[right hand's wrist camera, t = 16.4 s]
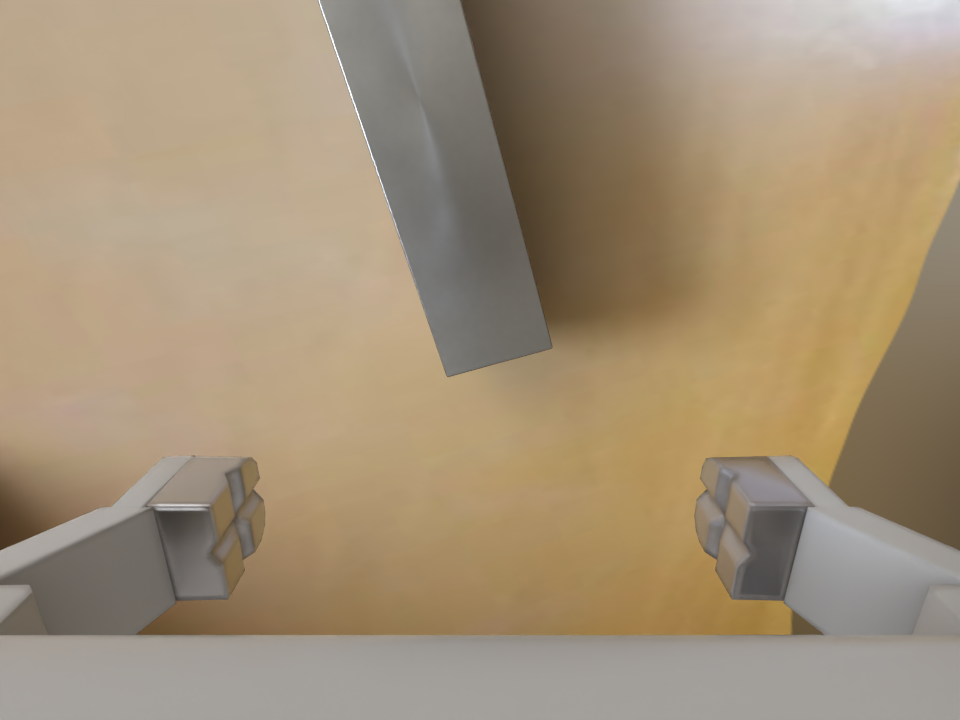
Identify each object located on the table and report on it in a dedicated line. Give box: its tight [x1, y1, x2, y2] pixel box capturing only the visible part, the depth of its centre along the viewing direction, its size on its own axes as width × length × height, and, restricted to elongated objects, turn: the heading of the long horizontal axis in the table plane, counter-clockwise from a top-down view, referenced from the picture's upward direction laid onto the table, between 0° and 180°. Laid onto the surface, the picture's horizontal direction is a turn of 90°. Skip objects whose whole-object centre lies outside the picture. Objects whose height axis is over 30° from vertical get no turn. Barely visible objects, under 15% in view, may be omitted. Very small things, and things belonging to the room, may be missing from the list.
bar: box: [318, 0, 553, 377], centre depth 26 cm, size 24×5×8 cm, turn 16°
